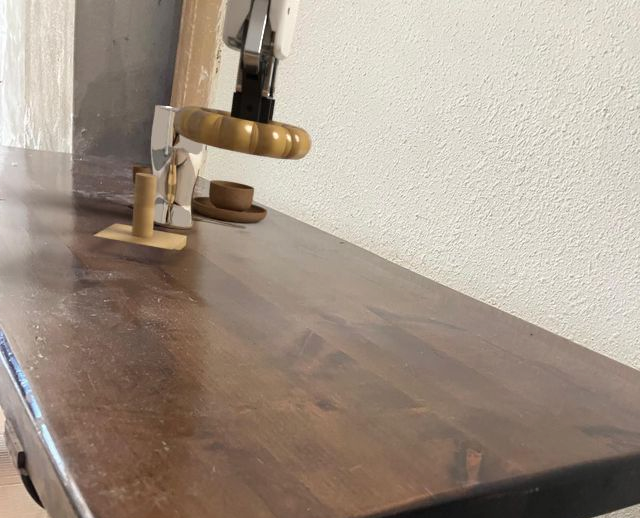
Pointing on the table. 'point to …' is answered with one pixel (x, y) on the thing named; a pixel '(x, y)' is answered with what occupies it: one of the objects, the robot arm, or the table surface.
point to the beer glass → (173, 170)
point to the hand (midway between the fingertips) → (248, 142)
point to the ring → (242, 133)
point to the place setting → (223, 201)
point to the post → (144, 220)
